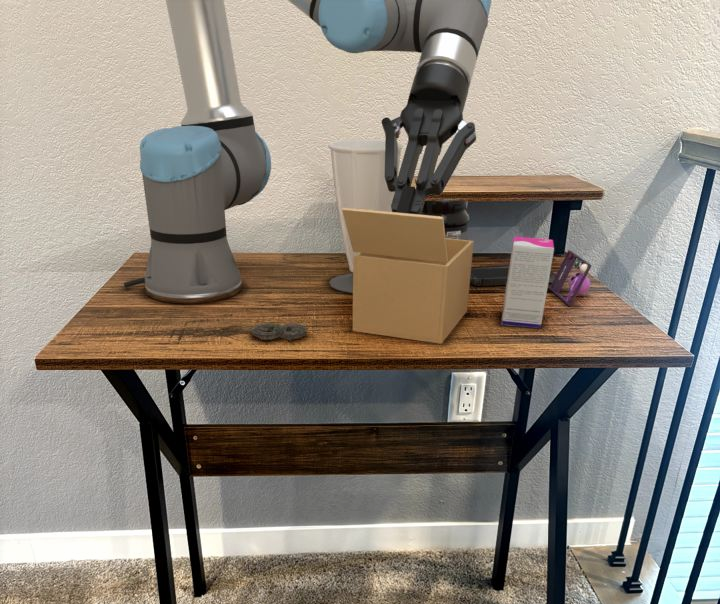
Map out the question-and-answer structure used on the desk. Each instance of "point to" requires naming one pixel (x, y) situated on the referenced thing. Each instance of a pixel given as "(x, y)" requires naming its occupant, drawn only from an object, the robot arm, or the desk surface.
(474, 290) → the desk surface
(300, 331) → the corroded twin loop
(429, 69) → the robot arm
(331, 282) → the cup
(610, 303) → the desk surface
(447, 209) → the supplement container
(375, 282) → the carton
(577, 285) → the purple monster toy box
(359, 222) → the flap
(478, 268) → the phone
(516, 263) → the supplement box
